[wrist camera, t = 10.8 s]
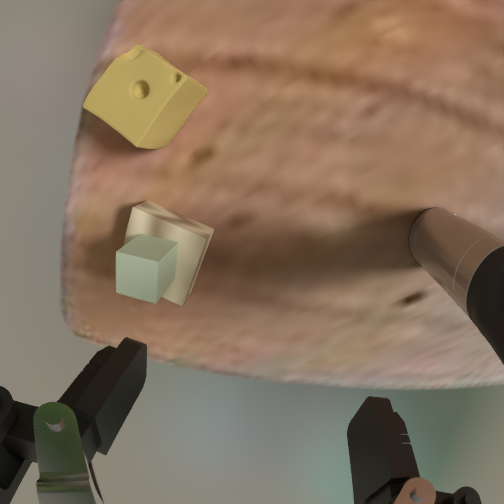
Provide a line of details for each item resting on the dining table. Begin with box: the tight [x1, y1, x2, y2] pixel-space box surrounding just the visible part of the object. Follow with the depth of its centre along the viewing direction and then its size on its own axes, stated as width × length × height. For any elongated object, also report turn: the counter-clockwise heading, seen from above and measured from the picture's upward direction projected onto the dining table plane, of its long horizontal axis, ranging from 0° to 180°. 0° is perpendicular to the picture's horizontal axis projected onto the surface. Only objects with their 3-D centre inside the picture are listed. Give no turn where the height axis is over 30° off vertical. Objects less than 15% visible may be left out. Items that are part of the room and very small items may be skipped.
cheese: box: [83, 45, 209, 149], centre depth 32 cm, size 10×11×10 cm
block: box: [116, 234, 178, 304], centre depth 37 cm, size 6×6×7 cm
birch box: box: [123, 201, 215, 306], centre depth 42 cm, size 11×11×5 cm
